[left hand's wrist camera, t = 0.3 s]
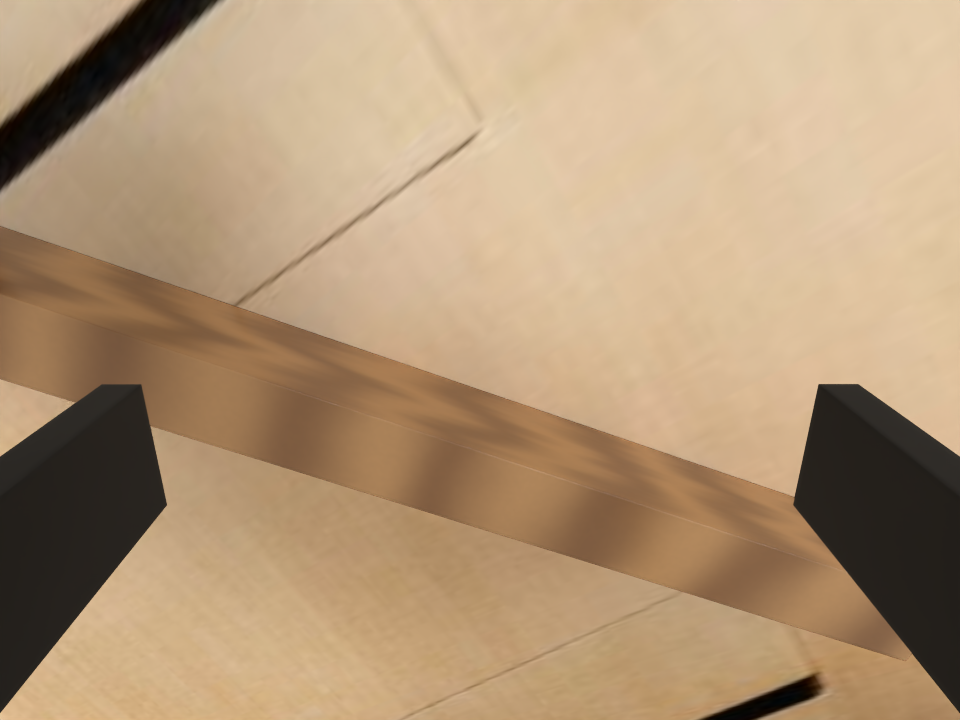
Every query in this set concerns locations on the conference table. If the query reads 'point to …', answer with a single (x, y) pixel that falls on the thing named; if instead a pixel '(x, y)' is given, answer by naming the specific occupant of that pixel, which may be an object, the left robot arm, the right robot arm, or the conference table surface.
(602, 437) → the beam
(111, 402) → the left robot arm
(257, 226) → the conference table surface
